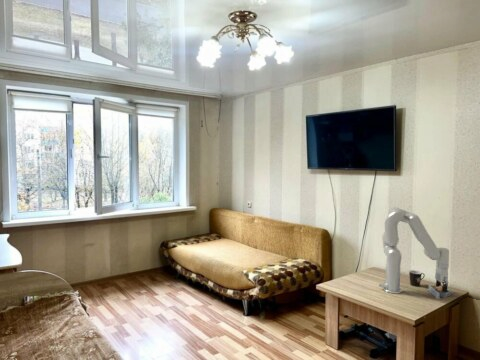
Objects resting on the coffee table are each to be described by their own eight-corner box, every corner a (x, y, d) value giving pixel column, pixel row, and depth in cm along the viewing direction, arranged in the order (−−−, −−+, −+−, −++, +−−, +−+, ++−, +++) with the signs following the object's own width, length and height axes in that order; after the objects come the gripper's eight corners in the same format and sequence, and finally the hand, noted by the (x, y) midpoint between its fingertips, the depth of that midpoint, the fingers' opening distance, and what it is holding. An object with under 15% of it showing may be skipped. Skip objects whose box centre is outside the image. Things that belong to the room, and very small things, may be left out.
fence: (436, 299, 235) (436, 293, 235) (427, 290, 251) (427, 285, 250) (440, 299, 235) (440, 293, 235) (431, 290, 250) (431, 285, 250)
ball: (439, 294, 242) (439, 287, 242) (436, 291, 247) (436, 284, 247) (446, 294, 242) (447, 287, 241) (443, 291, 247) (443, 284, 246)
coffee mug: (410, 286, 259) (410, 273, 258) (407, 282, 267) (407, 269, 267) (427, 287, 256) (427, 274, 256) (423, 283, 265) (424, 271, 264)
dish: (445, 297, 238) (445, 294, 238) (431, 293, 246) (431, 290, 245) (451, 294, 244) (451, 291, 243) (437, 290, 251) (437, 287, 251)
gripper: (431, 261, 252) (430, 284, 253) (442, 269, 235) (441, 293, 236) (442, 262, 251) (441, 285, 252) (453, 269, 234) (452, 294, 235)
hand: (441, 289), depth 244 cm, fingers open, 9 cm apart
